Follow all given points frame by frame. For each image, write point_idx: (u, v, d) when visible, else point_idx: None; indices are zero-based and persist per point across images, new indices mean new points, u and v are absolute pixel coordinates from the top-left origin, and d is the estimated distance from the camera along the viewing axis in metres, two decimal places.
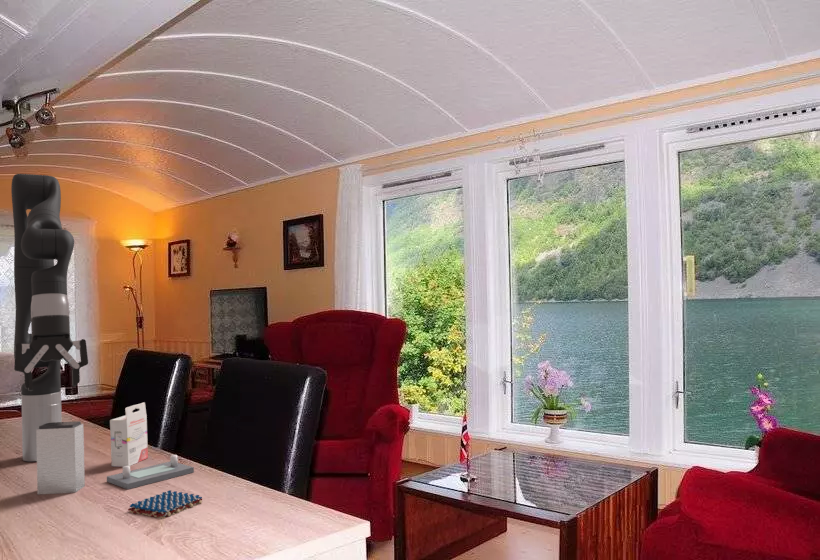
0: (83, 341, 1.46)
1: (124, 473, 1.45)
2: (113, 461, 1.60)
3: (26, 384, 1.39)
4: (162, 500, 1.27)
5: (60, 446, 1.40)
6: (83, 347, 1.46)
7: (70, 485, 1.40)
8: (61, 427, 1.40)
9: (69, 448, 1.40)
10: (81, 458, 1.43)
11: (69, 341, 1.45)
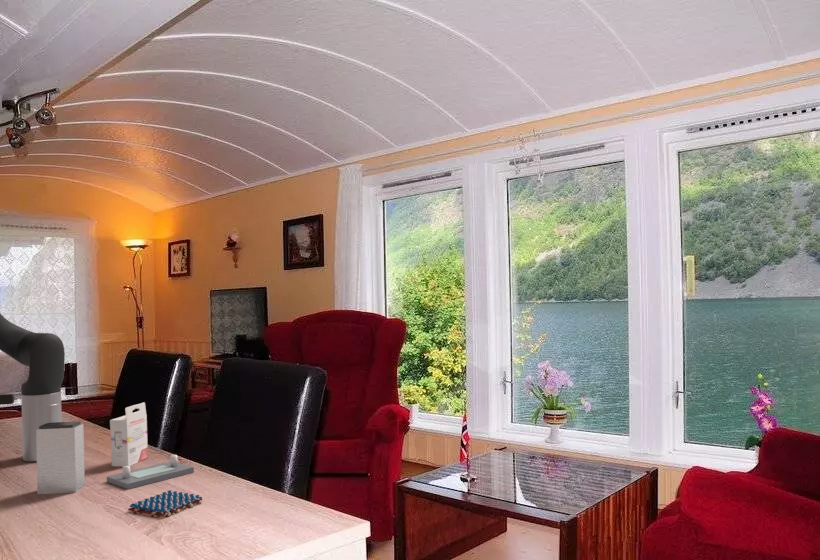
0: None
1: (124, 473, 1.45)
2: (113, 461, 1.60)
3: None
4: (162, 500, 1.27)
5: (60, 446, 1.40)
6: None
7: (70, 485, 1.40)
8: (61, 427, 1.40)
9: (69, 448, 1.40)
10: (81, 458, 1.43)
11: None
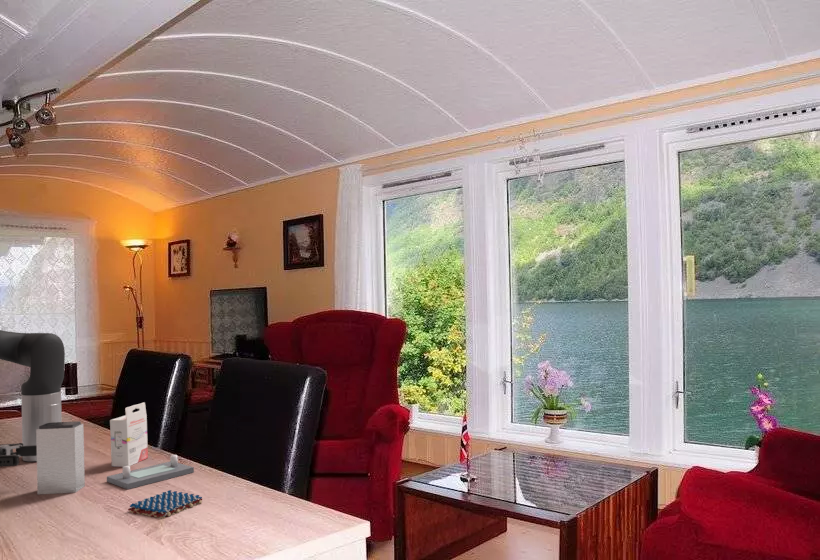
0: None
1: (124, 473, 1.45)
2: (113, 461, 1.60)
3: None
4: (162, 500, 1.27)
5: (60, 446, 1.40)
6: None
7: (70, 485, 1.40)
8: (61, 427, 1.40)
9: (69, 448, 1.40)
10: (81, 458, 1.43)
11: None
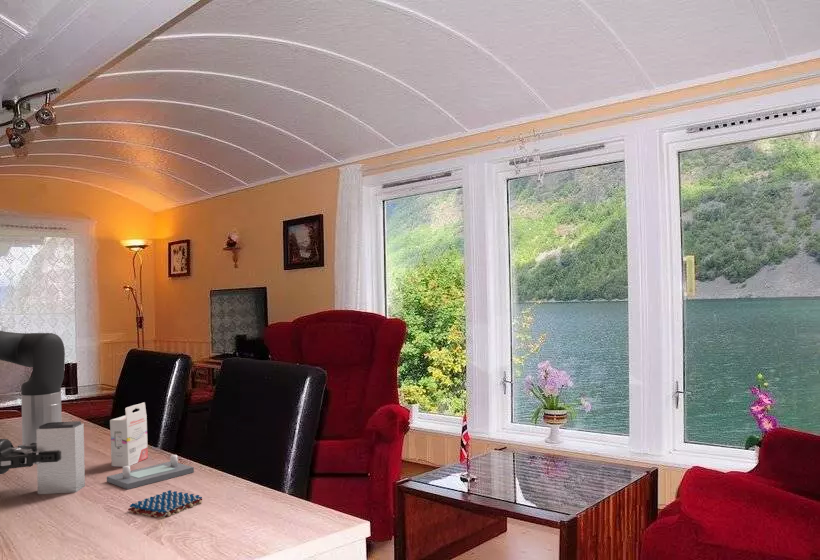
0: (3, 469, 1.35)
1: (124, 473, 1.45)
2: (113, 461, 1.60)
3: None
4: (162, 500, 1.27)
5: (60, 446, 1.40)
6: None
7: (70, 485, 1.40)
8: (61, 427, 1.40)
9: (69, 447, 1.40)
10: (81, 458, 1.43)
11: None
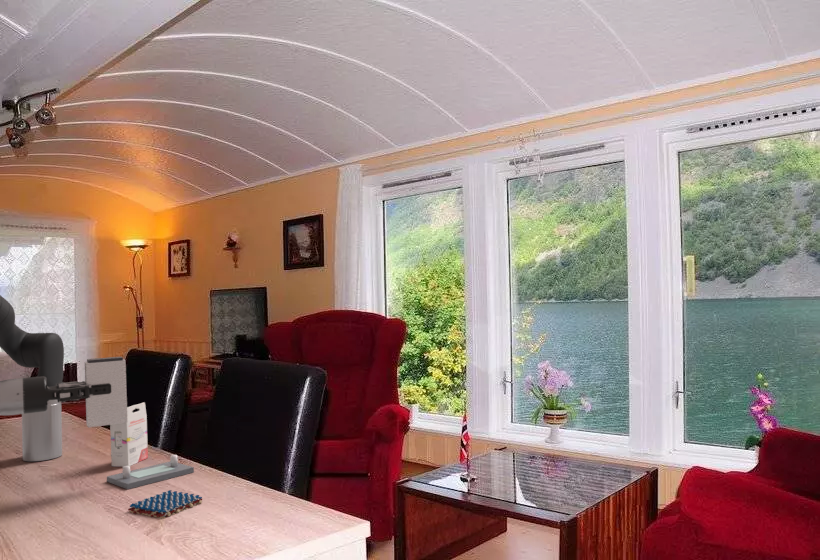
0: (62, 401, 1.35)
1: (124, 473, 1.45)
2: (113, 461, 1.60)
3: None
4: (162, 500, 1.27)
5: (111, 379, 1.43)
6: None
7: (122, 416, 1.44)
8: (111, 360, 1.44)
9: (120, 379, 1.44)
10: None
11: (56, 399, 1.37)
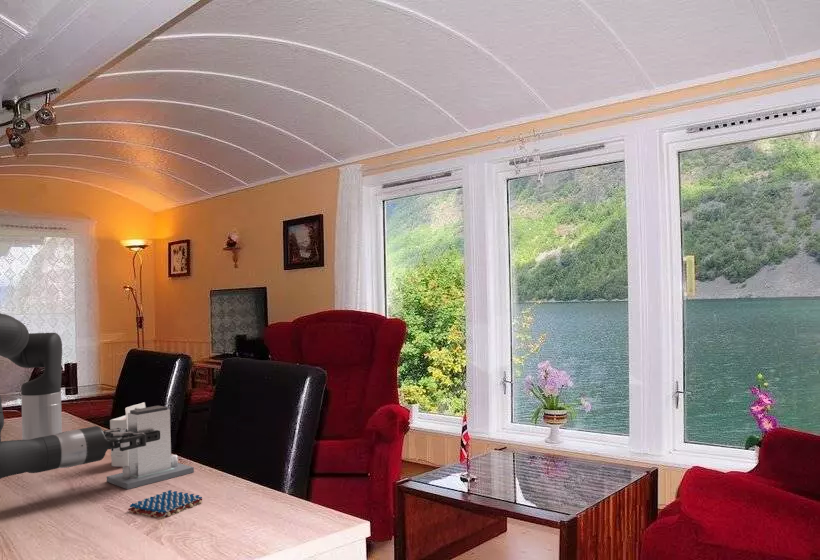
0: (122, 450, 1.39)
1: (124, 473, 1.45)
2: (113, 461, 1.60)
3: None
4: (162, 500, 1.27)
5: (158, 428, 1.49)
6: None
7: (166, 463, 1.50)
8: (158, 410, 1.50)
9: (166, 428, 1.51)
10: None
11: (114, 448, 1.40)
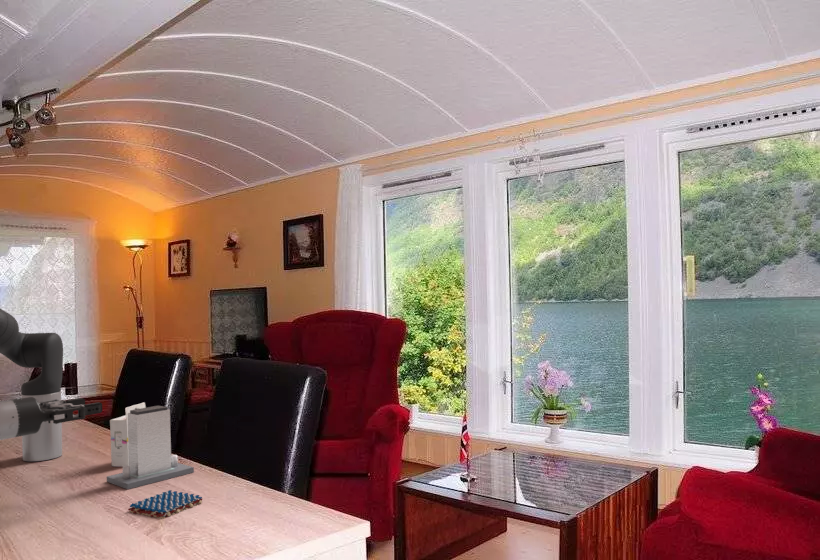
0: (56, 423, 1.29)
1: (124, 473, 1.45)
2: (113, 461, 1.60)
3: None
4: (162, 500, 1.27)
5: (158, 428, 1.49)
6: None
7: (166, 463, 1.50)
8: (158, 410, 1.50)
9: (166, 428, 1.51)
10: None
11: (49, 420, 1.31)
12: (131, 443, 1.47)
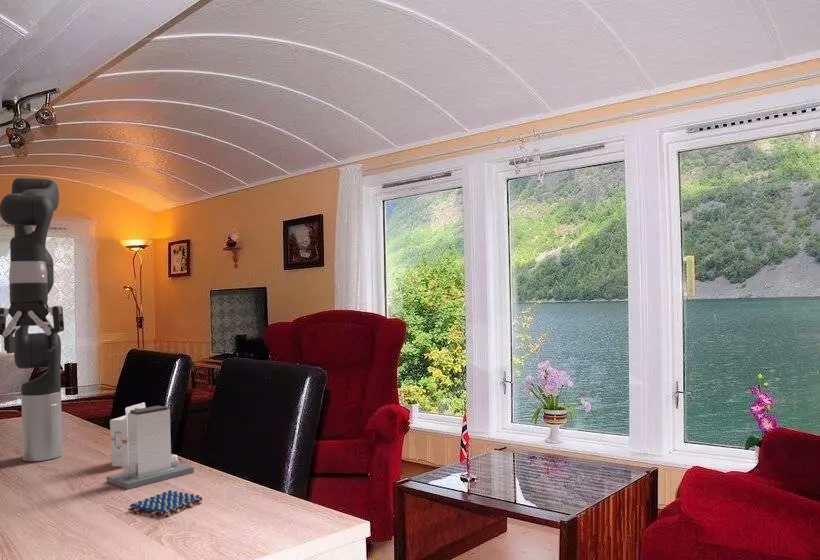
0: (55, 308, 1.47)
1: (124, 473, 1.45)
2: (113, 461, 1.60)
3: (5, 347, 1.46)
4: (162, 500, 1.27)
5: (158, 428, 1.49)
6: (55, 314, 1.47)
7: (166, 463, 1.50)
8: (158, 410, 1.50)
9: (166, 428, 1.51)
10: None
11: (42, 308, 1.47)
12: (131, 443, 1.47)
